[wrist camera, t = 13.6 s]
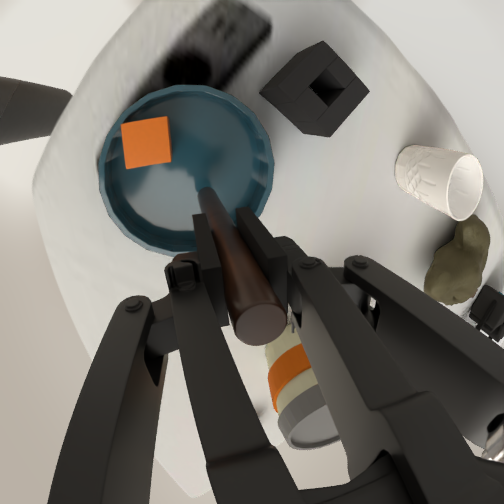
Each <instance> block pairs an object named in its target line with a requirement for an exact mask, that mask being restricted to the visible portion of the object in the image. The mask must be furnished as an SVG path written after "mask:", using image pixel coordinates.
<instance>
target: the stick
mask: <svg viewBox="0 0 504 504" xmlns="http://www.w3.org/2000/svg"><path fill="white" fill-rule="evenodd" d="M197 198H198V202H199V206H200V210H201V213H206V217H207V220H208V224H209V227H210V230H211V234H212V237H213V241H214V244H215V247H216V250H217V254H218V257H219V260H220V264H221V267H222V275H223V282H224V289H225V290H224V299H225V303H226V306H227V310H228V313H229V316H230V320H231V323H232V327H233V330H234V333H235V335H236V337H237V338H238V339H239V340H240V341H242V342H243V343H245V344H248V345H253V346H259V345H264V344H268V343H270V342H272V341H274V340H275V339H277V338H278V337H279V336H280V335H281V334H282V333H283V331H284V330H285V328H286V325H287V319H288V318H287V312H286V310H285V308H284V307H283V305H282V303H281V302H280V300H279V298H278V297H277V295H276V293H275V292H274V290H273V288H272V286H271V285H270V283H269V281H268V280H267V278H266V276H265V275H264V273H263V271H262V270H261V268H260V266H259V265H258V263H257V261H256V260H255V258H254V256H253V254H252V253H251V251H250V249H249V248H248V246H247V244H246V243H245V241H244V239H243V238H242V236H241V234H240V232H239V231H238V229H237V227H236V226H235V224H234V222H233V221H232V219H231V217H230V216H229V214H228V212H227V211H226V209H225V207H224V205H223V204H222V202H221V200H220V199H219V197H218V195H217V194H216V192H215V190H214V189H212V188H210V187H204V188H202V189H201V190H200V191H199V192H198V195H197Z"/></svg>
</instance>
